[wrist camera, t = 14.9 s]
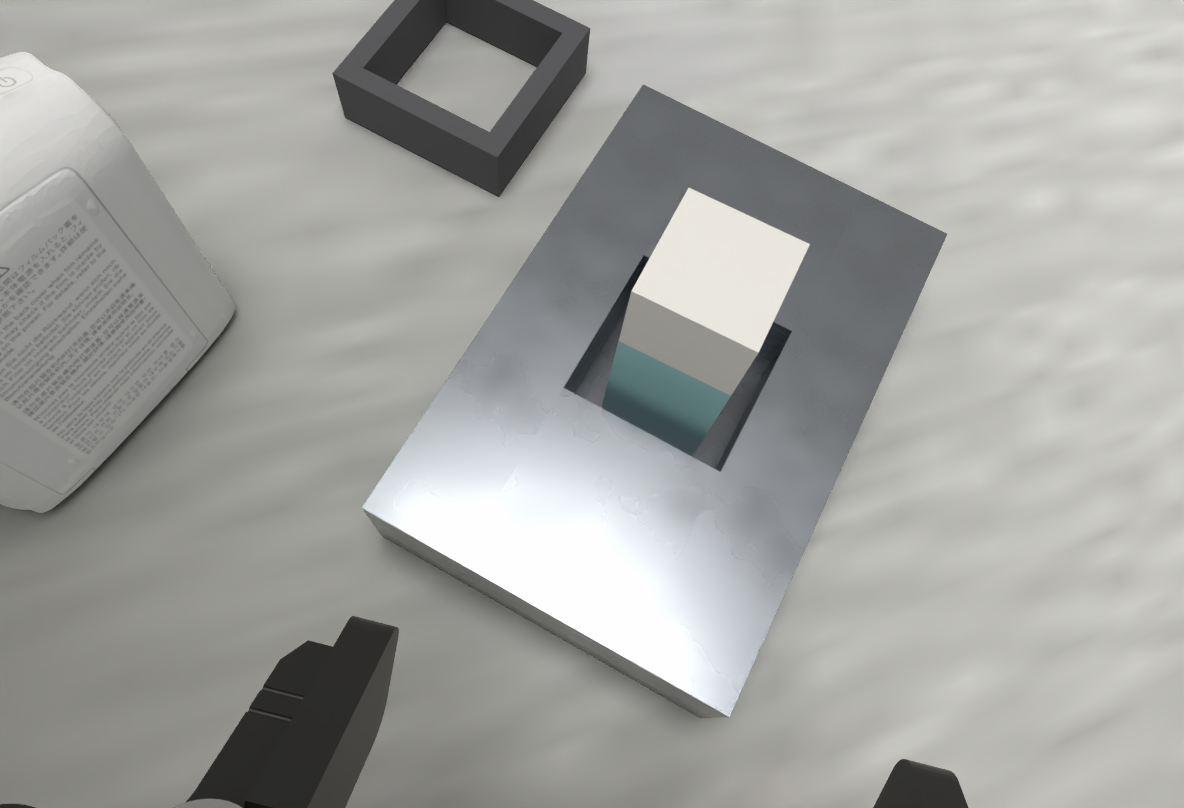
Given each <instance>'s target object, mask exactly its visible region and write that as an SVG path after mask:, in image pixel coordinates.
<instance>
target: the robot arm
mask: <svg viewBox="0 0 1184 808" xmlns="http://www.w3.org/2000/svg"><path fill="white" fill-rule="evenodd" d="M398 633H399V629H398V627H394V626H390V625H386V624H382V623H378V622H374V621H370V620H367V619H363V618H359V617H355V616H352V617H351V618H350V619H349V621H348V622H347V624H346V626H345V627H344V629H343V631H342V632H341V634H340V636H339V638H338V639H337V641H336V643H335V645H334V646H333V647H331V646H327V645H324V644H320V643H316V642H312V641H307V642H305V643H304V644H302V645H301V646H299V647H298V648H296V649H295V650H294V651H292V652H291V653H289V654H288V655H286V656H285V657H283V658H282V659H280V661H279V662H278V664H277V665H276V667H275V669H274V670H273V672H272V673H271V675H270V676H269V678H268V679H267V681H266V682H265V684H264V686H263V689H262V691H260V692H259V693H258V695H257V696H256V698H255V699H254V701H253V702H252V704H251V705H250V708H249V711H248V712H246V713H245V715H244V716H243V718H242V719H241V721H240V722H239V724H238V725H237V727H236V729H235V730H234V732H233V733H232V735H231V736H230V738H229V739H228V741H227V742H226V744H225V746H224V747H223V749H222V750H221V752H220V753H219V755H218V756H217V758H216V759H215V761H214V762H213V764H212V766H211V767H210V769H209V770H208V772H207V773H206V775H205V776H204V778H203V779H202V781H201V782H200V784H199V786H198V787H197V789H196V790H195V791H194V793H193V794H192V795H191V797H190V798H189V799H188V800H187V801H186V802H185V803H183V804H180V805H177V806H175V807H173V808H345V807H346V805H347V802H348V800H349V798H350V795H351V793H352V791H353V789H354V786H355V784H356V782H357V780H358V777H359V775H360V773H361V770H362V768H363V766H364V764H365V761H366V759H367V757H368V755H369V752H370V750H371V748H372V745H373V743H374V741H375V738H376V736H377V733H378V730H379V727H380V724H381V721H382V717H383V714H384V710H385V706H386V701H387V696H388V691H389V685H390V679H391V674H392V668H393V663H394V657H395V651H396V646H397V640H398ZM0 808H35V807H31V806H28V805H21V804H1V805H0ZM873 808H968V806H967V803H966V800H965V798H964V795H963V792H962V790H961V787H960V784H959V782H958V779H957V777H956V776H955V774H954V773H953V772H951V771H949V770H945V769H941V768H937V767H933V766H929V765H925V764H921V763H918V762H914V761H910V760H906V759H902V760H900V761H899V762H897V764H896V765H895V767H894V768H893V770H892V772H891V774H890V776H889V778H888V780H887V782H886V784H885V786H884V788H883V790H882V792H881V794H880V796H879V798H878V799H877V801H876V803H875V805H874V807H873Z"/></svg>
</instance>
